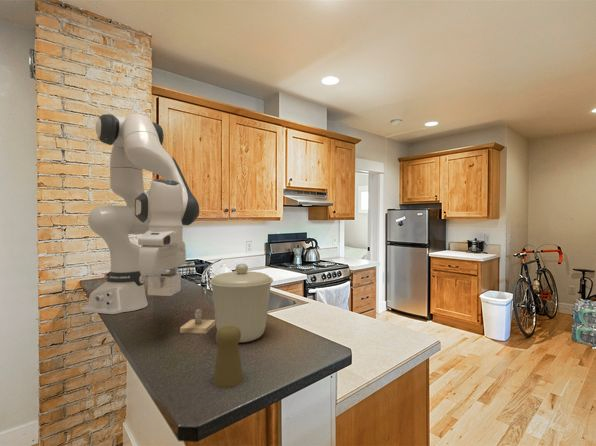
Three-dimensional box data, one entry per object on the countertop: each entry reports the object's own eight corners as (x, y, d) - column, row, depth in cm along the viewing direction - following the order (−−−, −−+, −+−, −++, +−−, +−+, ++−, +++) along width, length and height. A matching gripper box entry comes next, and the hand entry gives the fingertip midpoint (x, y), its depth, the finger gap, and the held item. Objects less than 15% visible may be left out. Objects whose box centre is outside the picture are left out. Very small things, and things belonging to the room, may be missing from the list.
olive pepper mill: (232, 390, 61) (232, 334, 61) (207, 384, 63) (207, 330, 63) (248, 376, 66) (248, 325, 66) (224, 370, 69) (224, 321, 69)
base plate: (180, 332, 92) (180, 312, 92) (190, 323, 100) (191, 305, 100) (206, 333, 92) (206, 313, 92) (215, 324, 100) (215, 305, 100)
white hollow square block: (147, 294, 85) (147, 276, 84) (159, 289, 91) (159, 272, 91) (170, 295, 84) (170, 277, 84) (180, 290, 91) (180, 273, 90)
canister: (198, 334, 91) (199, 262, 91) (251, 322, 102) (252, 258, 102) (227, 355, 77) (228, 270, 77) (285, 338, 88) (285, 264, 88)
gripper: (172, 234, 98) (171, 277, 98) (133, 238, 77) (133, 293, 78) (191, 234, 97) (190, 278, 98) (158, 239, 77) (157, 294, 77)
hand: (164, 285), depth 87 cm, fingers closed on white hollow square block, 6 cm apart
